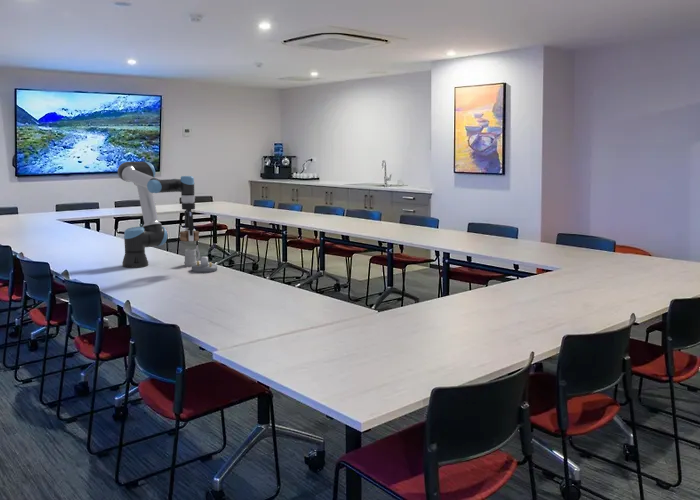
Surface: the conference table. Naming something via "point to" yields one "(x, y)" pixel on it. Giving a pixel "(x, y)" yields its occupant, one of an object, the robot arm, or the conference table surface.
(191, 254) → the mug
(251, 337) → the conference table surface
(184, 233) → the collar
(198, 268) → the flange base
